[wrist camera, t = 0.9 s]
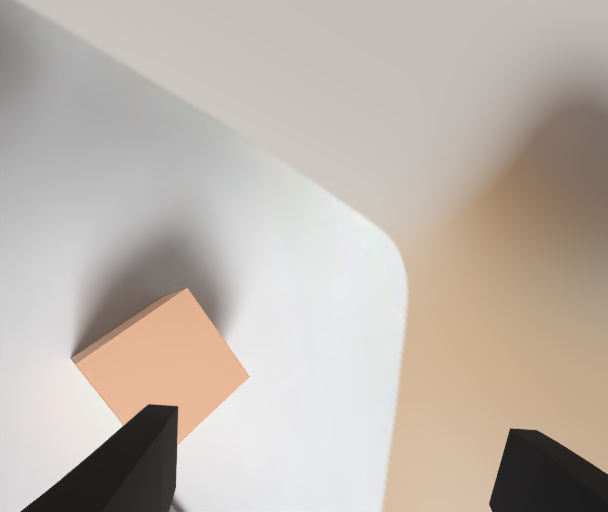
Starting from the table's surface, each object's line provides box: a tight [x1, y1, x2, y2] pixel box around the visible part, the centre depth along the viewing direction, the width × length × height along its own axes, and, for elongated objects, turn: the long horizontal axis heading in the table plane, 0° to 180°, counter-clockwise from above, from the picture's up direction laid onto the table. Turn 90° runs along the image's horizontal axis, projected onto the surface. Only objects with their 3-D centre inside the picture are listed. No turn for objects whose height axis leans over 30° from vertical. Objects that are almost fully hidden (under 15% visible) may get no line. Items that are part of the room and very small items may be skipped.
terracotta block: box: [71, 288, 250, 445], centre depth 18 cm, size 5×5×5 cm
